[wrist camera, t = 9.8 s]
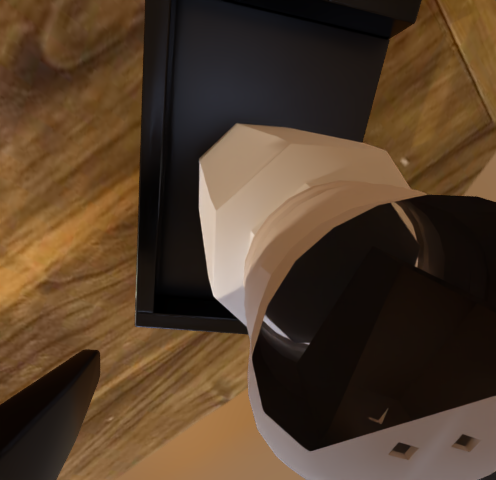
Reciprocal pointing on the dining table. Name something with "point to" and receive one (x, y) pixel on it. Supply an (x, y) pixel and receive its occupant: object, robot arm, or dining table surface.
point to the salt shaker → (355, 306)
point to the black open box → (238, 117)
